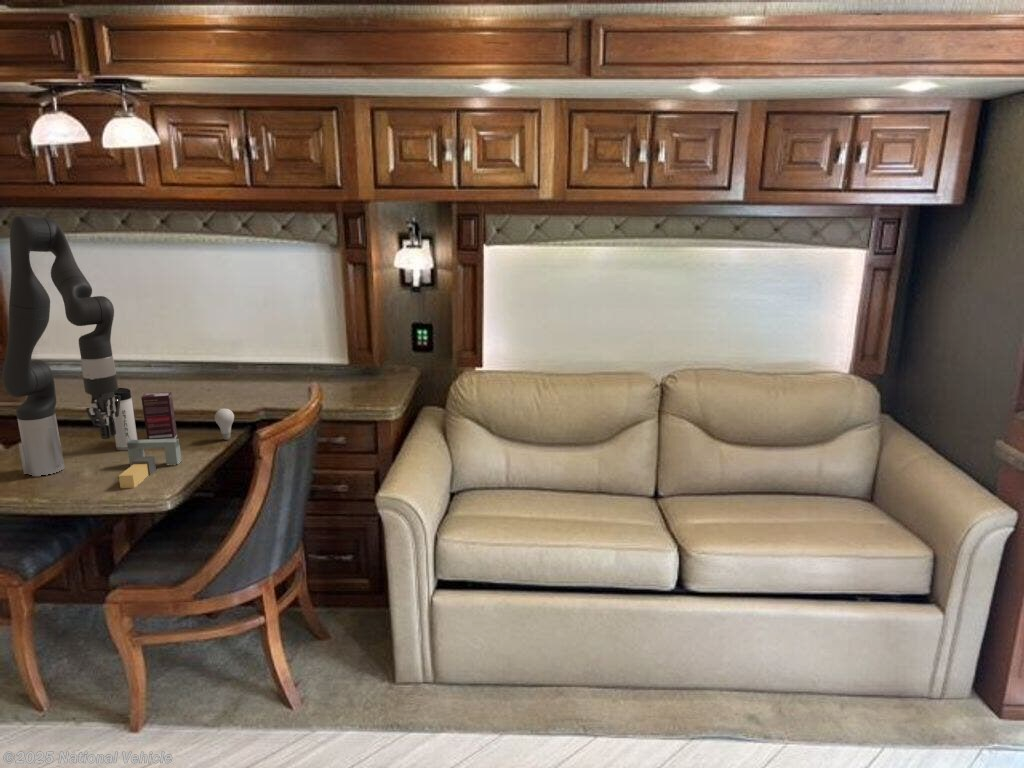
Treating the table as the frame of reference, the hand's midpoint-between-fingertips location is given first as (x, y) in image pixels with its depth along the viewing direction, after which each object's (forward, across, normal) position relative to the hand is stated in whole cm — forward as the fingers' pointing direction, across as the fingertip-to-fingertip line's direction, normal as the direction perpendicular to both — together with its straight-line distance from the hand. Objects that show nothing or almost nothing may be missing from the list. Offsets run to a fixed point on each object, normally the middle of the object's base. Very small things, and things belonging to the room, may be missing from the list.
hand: (108, 436), depth 181 cm
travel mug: (+17, -40, -16) cm, 46 cm away
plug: (+17, -12, 0) cm, 21 cm away
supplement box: (+17, -48, -8) cm, 52 cm away
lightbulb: (+17, -46, +14) cm, 51 cm away
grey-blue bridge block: (+17, -24, 0) cm, 29 cm away
